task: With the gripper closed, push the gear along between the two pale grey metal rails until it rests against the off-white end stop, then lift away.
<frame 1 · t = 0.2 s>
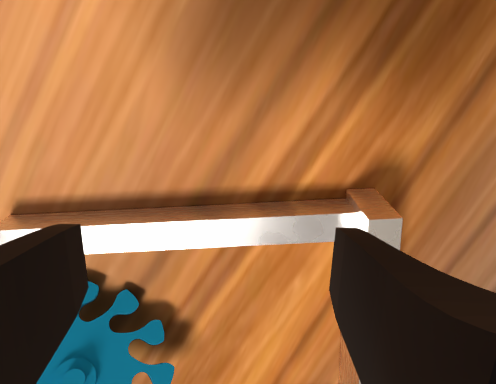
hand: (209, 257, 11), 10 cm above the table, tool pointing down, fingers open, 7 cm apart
rail dock: (199, 322, 24), on the table
gear: (92, 325, 25), on the table
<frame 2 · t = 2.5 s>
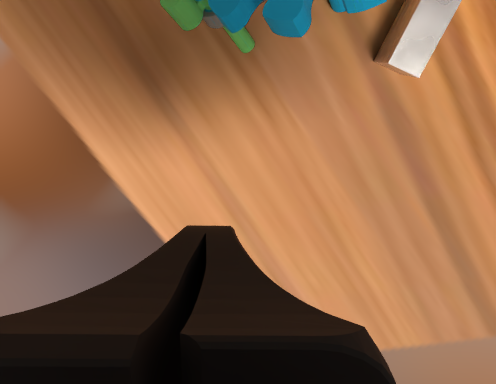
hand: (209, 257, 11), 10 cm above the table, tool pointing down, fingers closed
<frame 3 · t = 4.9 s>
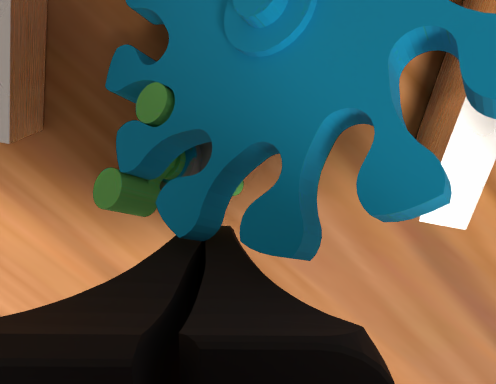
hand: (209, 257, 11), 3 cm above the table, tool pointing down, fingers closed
gear: (257, 43, 12), on the table, touching gripper
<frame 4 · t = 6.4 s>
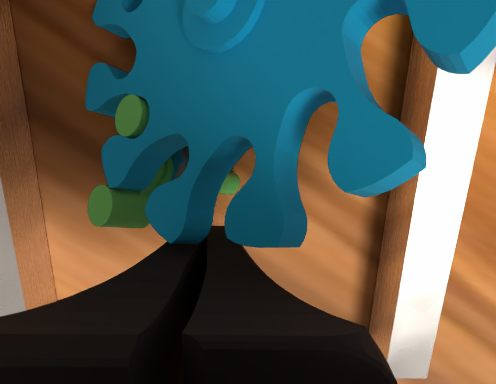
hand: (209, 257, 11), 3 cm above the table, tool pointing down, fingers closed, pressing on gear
rail dock: (215, 90, 13), on the table
gear: (230, 39, 12), on the table, touching gripper
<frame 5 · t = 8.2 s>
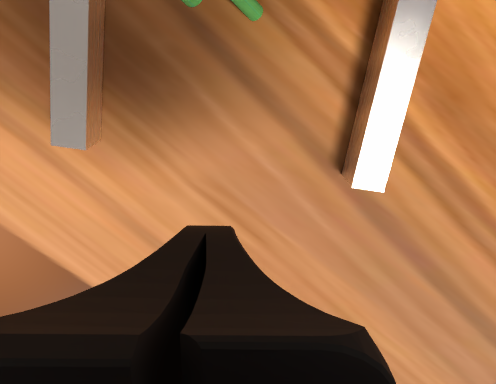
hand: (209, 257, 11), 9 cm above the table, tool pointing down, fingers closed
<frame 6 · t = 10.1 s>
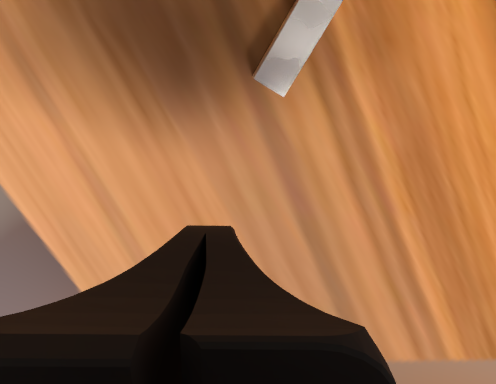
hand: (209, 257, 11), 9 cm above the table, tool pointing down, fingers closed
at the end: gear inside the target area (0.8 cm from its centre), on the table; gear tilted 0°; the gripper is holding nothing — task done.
